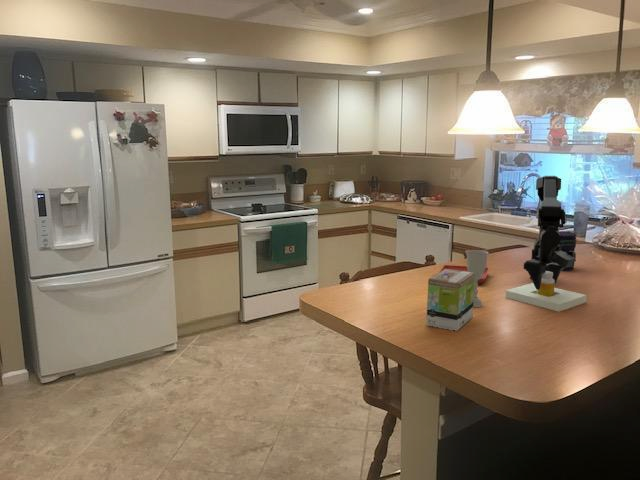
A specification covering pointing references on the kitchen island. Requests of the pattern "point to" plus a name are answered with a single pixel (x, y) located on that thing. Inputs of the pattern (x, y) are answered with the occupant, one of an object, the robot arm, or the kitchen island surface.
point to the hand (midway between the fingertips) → (545, 287)
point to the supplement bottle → (547, 284)
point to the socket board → (556, 302)
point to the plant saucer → (464, 268)
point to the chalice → (476, 269)
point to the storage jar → (567, 245)
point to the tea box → (450, 299)
